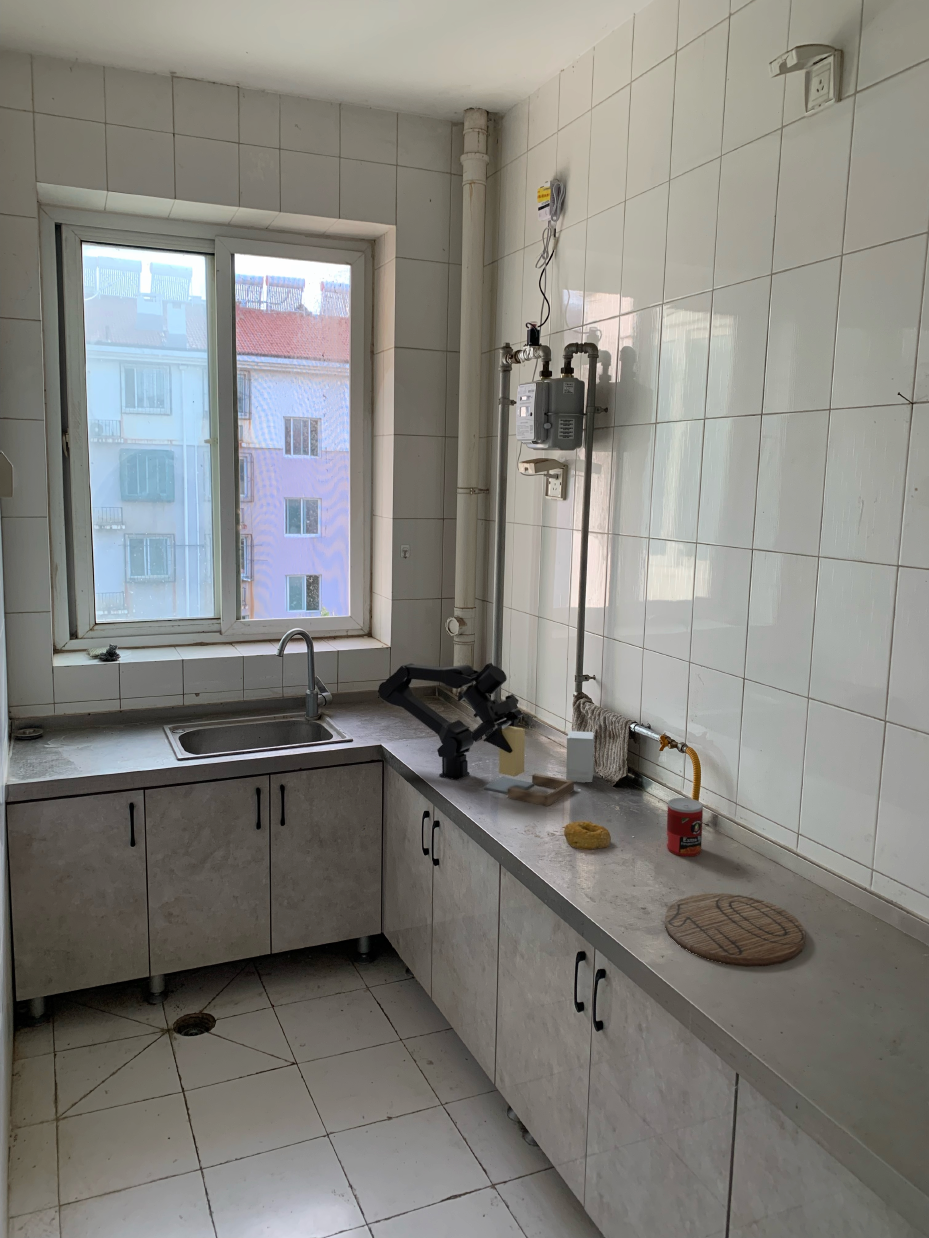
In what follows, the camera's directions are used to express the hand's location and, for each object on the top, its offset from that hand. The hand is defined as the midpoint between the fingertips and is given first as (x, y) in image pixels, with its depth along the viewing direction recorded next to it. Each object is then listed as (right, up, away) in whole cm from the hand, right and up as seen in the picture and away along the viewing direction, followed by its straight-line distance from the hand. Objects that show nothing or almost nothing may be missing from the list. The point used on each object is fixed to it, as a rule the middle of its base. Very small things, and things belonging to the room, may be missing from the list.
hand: (516, 749), depth 248 cm
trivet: (+36, -24, -76) cm, 88 cm away
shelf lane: (+6, -11, -2) cm, 13 cm away
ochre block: (-1, -6, +2) cm, 7 cm away
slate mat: (-2, -11, +3) cm, 11 cm away
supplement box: (+18, -10, +10) cm, 23 cm away
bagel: (+14, -17, -35) cm, 41 cm away
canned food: (+36, -17, -39) cm, 56 cm away
